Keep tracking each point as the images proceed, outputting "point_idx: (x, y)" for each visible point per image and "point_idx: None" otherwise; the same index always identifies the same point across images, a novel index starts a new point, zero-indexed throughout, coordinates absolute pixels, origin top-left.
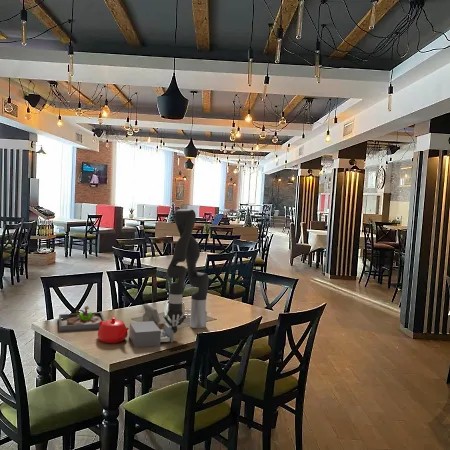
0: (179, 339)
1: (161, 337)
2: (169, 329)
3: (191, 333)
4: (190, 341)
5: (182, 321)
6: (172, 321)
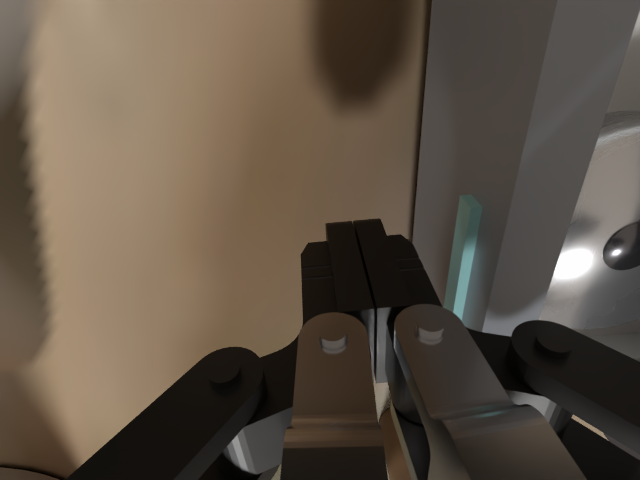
0: (253, 161)
1: (627, 111)
2: (582, 161)
3: (66, 357)
4: (49, 16)
5: (93, 469)
6: (551, 449)
